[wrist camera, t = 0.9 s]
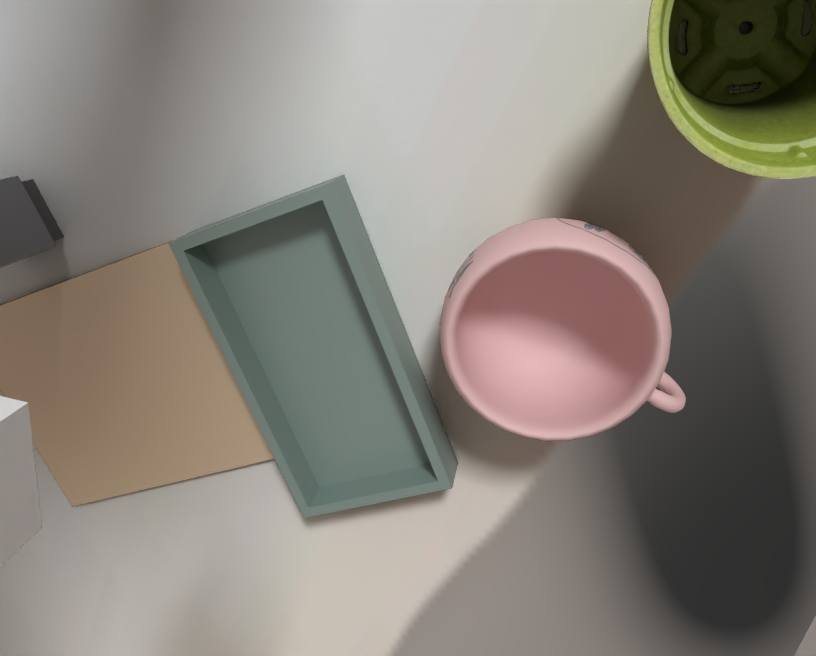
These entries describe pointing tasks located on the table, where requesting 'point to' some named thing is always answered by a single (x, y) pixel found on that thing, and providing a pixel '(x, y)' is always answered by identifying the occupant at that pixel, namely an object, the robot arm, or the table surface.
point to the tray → (319, 350)
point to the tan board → (125, 381)
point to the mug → (557, 331)
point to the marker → (24, 221)
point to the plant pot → (739, 82)
